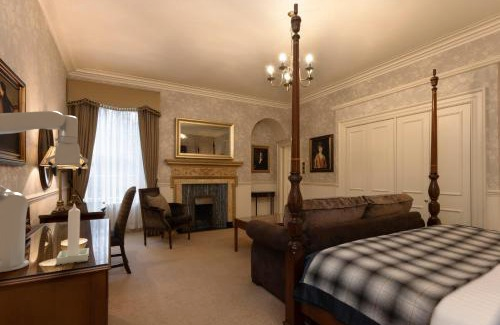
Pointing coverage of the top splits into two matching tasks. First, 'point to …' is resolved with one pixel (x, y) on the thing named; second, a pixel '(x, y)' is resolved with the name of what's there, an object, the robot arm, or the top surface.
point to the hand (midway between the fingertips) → (67, 176)
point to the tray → (72, 257)
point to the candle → (73, 231)
